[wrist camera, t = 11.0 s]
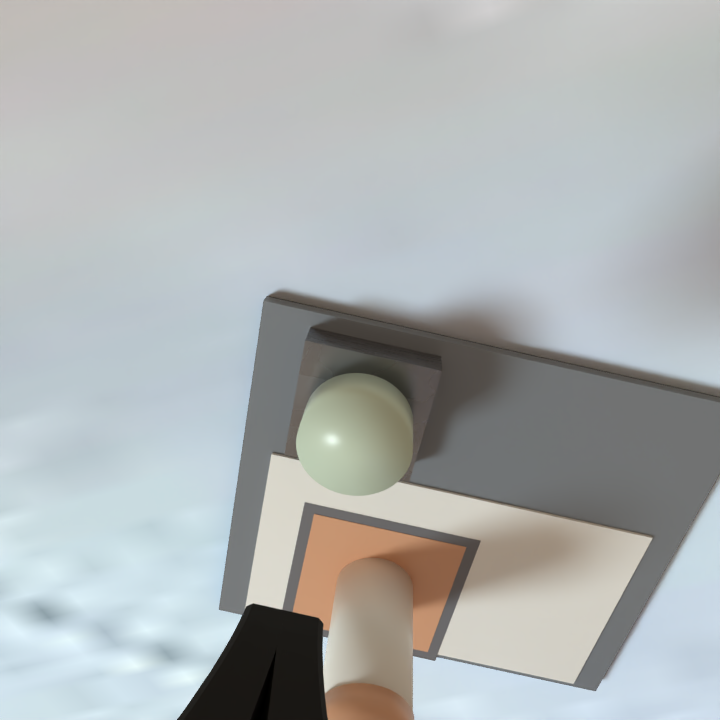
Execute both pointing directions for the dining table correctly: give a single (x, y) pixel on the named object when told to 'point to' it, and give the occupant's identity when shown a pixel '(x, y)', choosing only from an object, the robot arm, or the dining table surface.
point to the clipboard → (481, 501)
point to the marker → (370, 643)
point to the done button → (356, 435)
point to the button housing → (356, 355)
